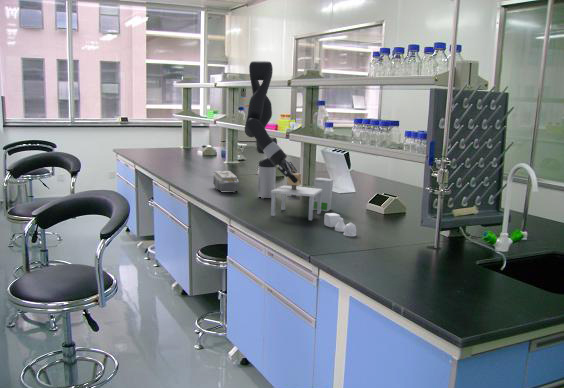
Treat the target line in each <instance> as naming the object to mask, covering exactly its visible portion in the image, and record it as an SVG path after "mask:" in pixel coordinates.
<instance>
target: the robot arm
mask: <svg viewBox="0 0 564 388" xmlns="http://www.w3.org/2000/svg"><path fill="white" fill-rule="evenodd" d="M248 67H249V68H248V71H249V79H250V84H251V85H250V86H251V90H252V91H251V92H252V95H251V97H250V99H249V102H248V109H247V116H246V122H245V125H244V133H245V135H246V136H247V137H248V138H255V139H256V141H255V143H256V144H255V145H256V152H257V153H259V154H264V156H266V157H267V158H265V159H260V160H259V161H258V188H257V189H258V190H257V198H259V197H261V198H260V199H264V198H271V196H272V193H271V190H274V189H276V176H277V175H276V173H277V172H276V170H279V171H280V173H282V174H283V175H284V176H285V178H287V179H288V178H290V179H291V180H292V181H293V183H296V182H297V181H298V180H297V179H296V177H295V176H294V175H292V173H298V169H296V167H295V166H294V164H293V163H292V162H291V161H288V160H286V159H287V157H288V156H287V154H286V153H285V152H284V150H283V149H282V148H281V147H280V146H279V145H278V139H277V137H274V136H270V135H269V133H268V131H267V130H266V127H267V126H268V124H269V122H270V121H271V119H272V117H273V108H272V103H271V102H272V101H271V100H270V98H269V97H268V96H267V94H268V91H269V87H270V85H271V81H272V78H273V64H272V62H271V61H268V60H267V61H266V60H253V61H250V63H249V66H248ZM259 81H261V84H260V82H259ZM277 166H278V167H277Z"/></svg>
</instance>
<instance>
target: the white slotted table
mask: <svg viewBox="0 0 564 388" xmlns="http://www.w3.org/2000/svg"><path fill="white" fill-rule="evenodd" d="M271 193H272V196H271V199H270V200H271V201H270V202H271V204H270V206H271V207H270V216H271V217H275V216H276V202H277V201H276V199H277V198H276V196H277V195H276V194H280V195H281V206H280V207H281V208H280V210H281V211H286V199H287V197H286V196H287V195H289V196H291V195H296V196H300V197H301V196H303V197H309V199H308V200H309V201H308V221H313V218H314V210H313V199H314V196H315V195H317V194H318V202H317V210H316V214H317V215H321V214H322V211H321V199H322V189H317V188H314V187H306V186H305V187H304V186H296V190H292V185H281V186H278V187H277V188H276V187H275V189H274V190H271Z"/></svg>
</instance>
